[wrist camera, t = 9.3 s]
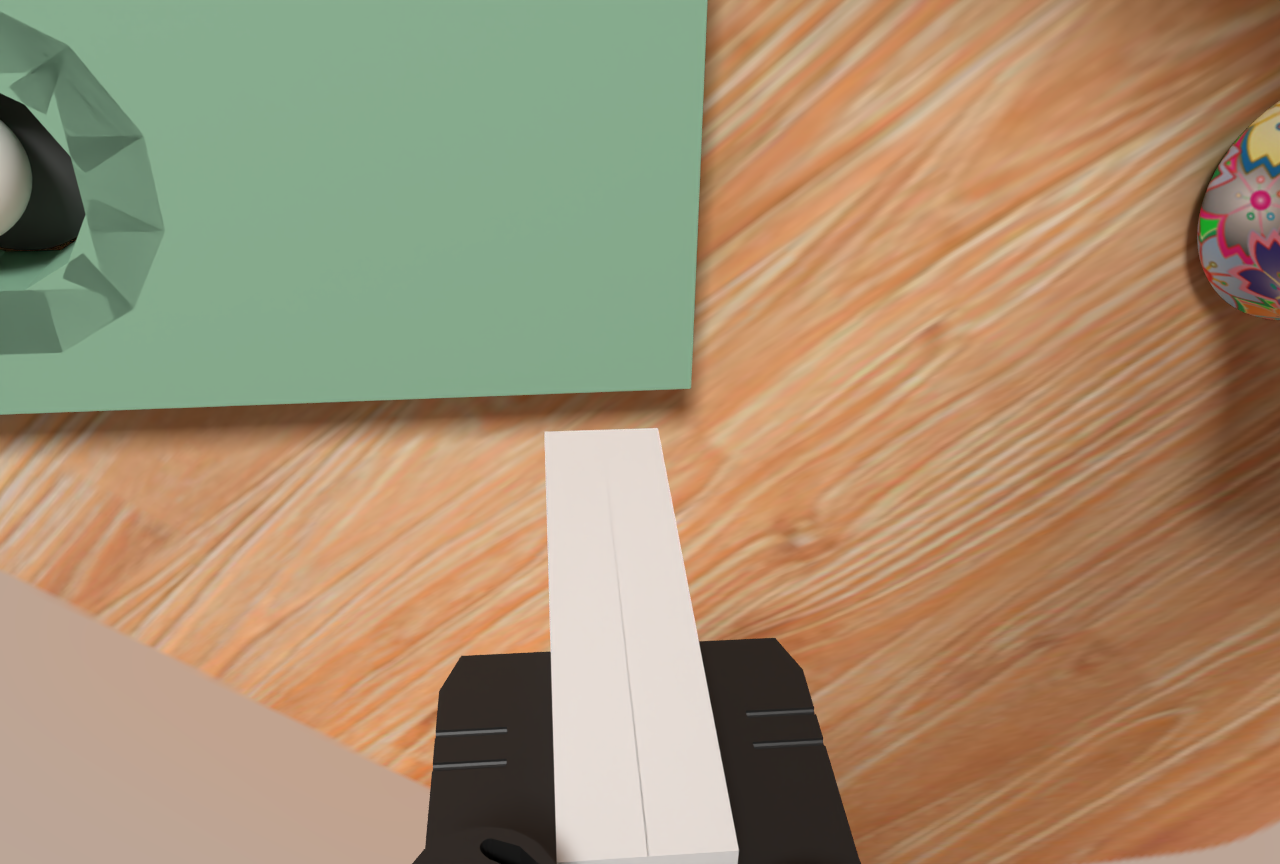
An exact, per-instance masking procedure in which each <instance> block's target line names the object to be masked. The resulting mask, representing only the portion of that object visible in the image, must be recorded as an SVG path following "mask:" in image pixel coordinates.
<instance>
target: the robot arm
mask: <svg viewBox="0 0 1280 864" xmlns="http://www.w3.org/2000/svg"><path fill="white" fill-rule="evenodd" d="M545 467H546V502H547V537H548V572H549V607H550V642H551V652H533V653H513V654H493V655H473V656H461V657H460V659H459V661H458V662H457V664H456V665H455V667H454V669H453V670H452V672H451V673H450V675H449V677H448V678H447V680H446V681H445V683H444V685H443V686H442V688H441V689H440V691H439V700H438V712H437V723H436V738H435V745H434V757H433V771H432V779H431V790H430V801H429V813H428V824H427V835H426V847H425V849H424V851H423V852H422V853H421V854H420V855H419V856H418V858H417V859H416V860H415V861H414V862H413V863H412V864H861V862H860V860H859V858H858V854H857V851H856V847H855V844H854V841H853V837H852V834H851V831H850V827H849V824H848V820H847V817H846V814H845V810H844V807H843V804H842V800H841V797H840V794H839V790H838V787H837V783H836V780H835V777H834V773H833V770H832V767H831V763H830V760H829V757H828V753H827V750H826V746H824V745H823V736H822V733H821V730H820V726H819V723H818V720H817V716H816V715H814V706H813V703H812V699H811V696H810V693H809V689H808V686H807V683H806V679H805V676H804V672H803V669H802V668H801V667H800V666H799V665H798V664H797V663H796V661H795V660H794V659H793V658H792V657H791V656H790V655H789V653H788V652H787V651H786V650H785V649H784V648H783V647H782V645H781V644H780V643H779V642H778V641H777V640H776V638H762V639H741V640H721V641H701V642H699V640H698V635H697V630H696V624H695V619H694V614H693V609H692V603H691V598H690V593H689V588H688V583H687V577H686V572H685V567H684V562H683V557H682V551H681V546H680V541H679V536H678V531H677V525H676V520H675V515H674V510H673V504H672V499H671V494H670V489H669V484H668V478H667V473H666V468H665V463H664V458H663V452H662V447H661V442H660V437H659V432H658V428H643V429H613V430H582V431H552V432H545Z"/></svg>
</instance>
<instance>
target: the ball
mask: <svg viewBox="0 0 1280 864" xmlns="http://www.w3.org/2000/svg"><path fill="white" fill-rule="evenodd" d="M31 191H32V172H31V167H30V163H29V159H28V156H27V154H26V152H25V150H24V148H23V146H22V144H21V142H20V141H19V139H18V138H17V137H16V135H15V134H14V133H13V132H12V130H11V129H10V128H9V127H8V126H7V125H6V124H5V123H3V122H2V121H1V120H0V236H1V235H2V234H4V233H5V232H7V231H8V230H9V229H10V228H11V227H13V226H14V224H15V223H16V222H17V221H18V220H19V219H20V218H21V216H22V214H23V213H24V211H25V209H26V207H27V205H28V202H29V199H30V195H31Z"/></svg>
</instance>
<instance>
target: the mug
mask: <svg viewBox="0 0 1280 864" xmlns="http://www.w3.org/2000/svg"><path fill="white" fill-rule="evenodd" d="M1197 242H1198V252H1199V258H1200V261H1201V265H1202V268H1203V270H1204V273H1205V275H1206V277H1207V279H1208V280H1209V282H1210V284H1211V285H1212V287H1213V288H1214V290H1215V291H1216V292H1217V293H1218V294H1219V296H1221V297H1222V298H1223V299H1224V300H1225V301H1226V302H1227V303H1229V304H1230V305H1232V306H1233V307H1235V308H1236V309H1238V310H1240V311H1242V312H1245V313H1247V314H1250V315H1253V316H1256V317H1261V318H1265V319H1272V320H1280V101H1279V102H1277V103H1276V104H1275V105H1273V106H1272V107H1271V108H1269V109H1268V110H1267V111H1265V112H1264V113H1263V114H1262V115H1261V116H1259V117H1258V118H1257V119H1256V120H1255V121H1254V122H1253V123H1252V124H1251V125H1250V126H1249V127H1248V128H1247V129H1246V130H1245V131H1244V132H1243V133H1242V134H1241V135H1240V137H1239V138H1238V139H1237V140H1236V141H1235V142H1234V144H1233V145H1232V146H1231V148H1230V149H1229V150H1228V152H1227V153H1226V155H1225V156H1224V158H1223V159H1222V161H1221V162H1220V164H1219V166H1218V167H1217V169H1216V171H1215V173H1214V175H1213V177H1212V179H1211V181H1210V184H1209V186H1208V188H1207V191H1206V194H1205V197H1204V200H1203V203H1202V207H1201V211H1200V215H1199V222H1198V232H1197Z"/></svg>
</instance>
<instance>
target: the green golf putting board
mask: <svg viewBox="0 0 1280 864" xmlns="http://www.w3.org/2000/svg"><path fill="white" fill-rule="evenodd" d="M706 23H707V0H0V120H1V121H2V122H3V123H5V124H6V125H7V126H8V127H9V128H10V129H11V130H12V132H13V133H14V134H15V135H16V137H17V138H18V139H19V141H20V142H21V144H22V146H23V148H24V150H25V152H26V154H27V156H28V159H29V163H30V167H31V172H32V191H31V195H30V199H29V202H28V205H27V207H26V209H25V211H24V213H23V214H22V216H21V218H20V219H19V220H18V221H17V222H16V223H15V224H14V226H13V227H11V228H10V229H9V230H8V231H7V232H5V233H4V234H2V235H1V236H0V247H2V248H8V249H15V250H39V249H46V248H51V247H55V246H58V245H61V244H64V243H66V242H68V241H70V240H72V239H74V238H76V237H77V236H78V237H77V240H76V241H75V242H73V243H71V244H70V245H68V246H67V247H65V248H64V249H62V250H47V251H4V250H1V249H0V415H3V414H30V413H56V412H83V411H109V410H136V409H163V408H189V407H216V406H242V405H269V404H295V403H322V402H348V401H375V400H402V399H428V398H455V397H481V396H508V395H534V394H561V393H588V392H614V391H641V390H667V389H691V376H692V353H693V329H694V306H695V282H696V259H697V235H698V212H699V188H700V165H701V141H702V117H703V94H704V70H705V47H706Z"/></svg>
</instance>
